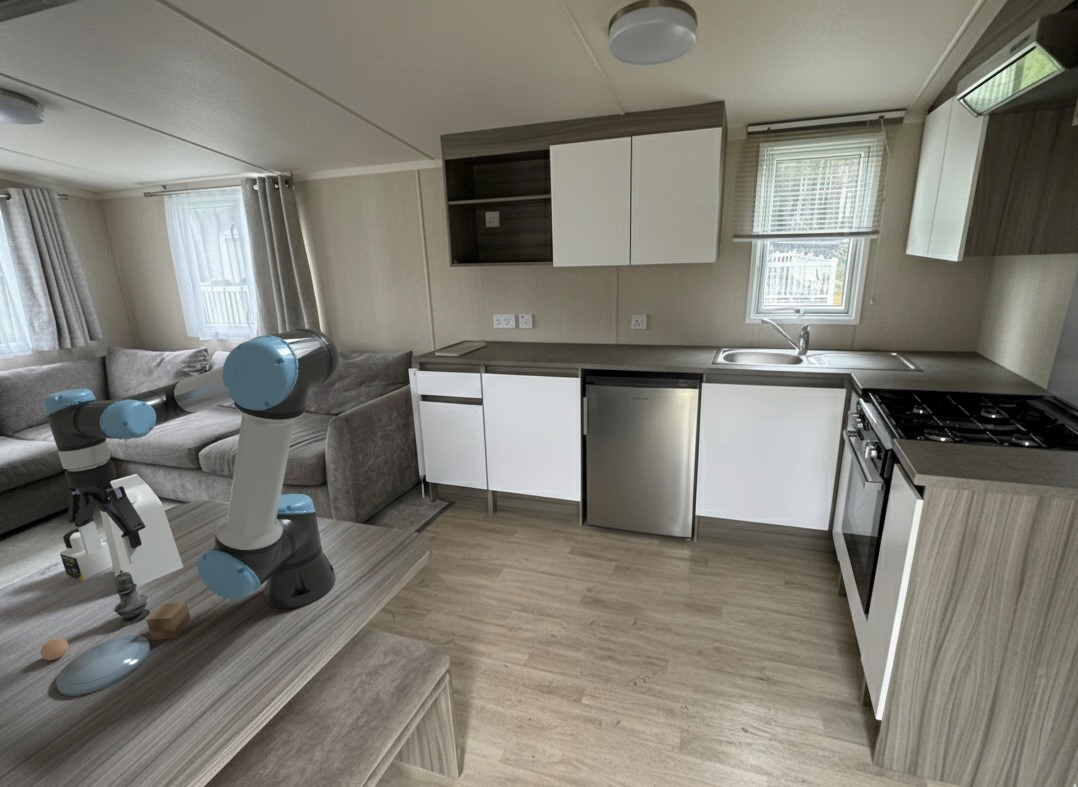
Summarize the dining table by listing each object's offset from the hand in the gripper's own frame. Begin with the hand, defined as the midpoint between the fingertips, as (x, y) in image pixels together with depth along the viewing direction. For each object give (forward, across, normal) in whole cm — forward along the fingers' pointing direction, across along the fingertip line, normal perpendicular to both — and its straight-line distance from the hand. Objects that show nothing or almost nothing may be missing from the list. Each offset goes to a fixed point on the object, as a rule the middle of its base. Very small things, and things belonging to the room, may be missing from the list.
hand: (115, 556), depth 109 cm
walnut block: (+16, -13, +1) cm, 20 cm away
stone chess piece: (+16, 0, 0) cm, 16 cm away
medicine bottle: (+16, +32, -10) cm, 37 cm away
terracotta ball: (+14, +3, +13) cm, 19 cm away
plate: (+15, -10, +12) cm, 22 cm away
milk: (+16, +16, -14) cm, 26 cm away
